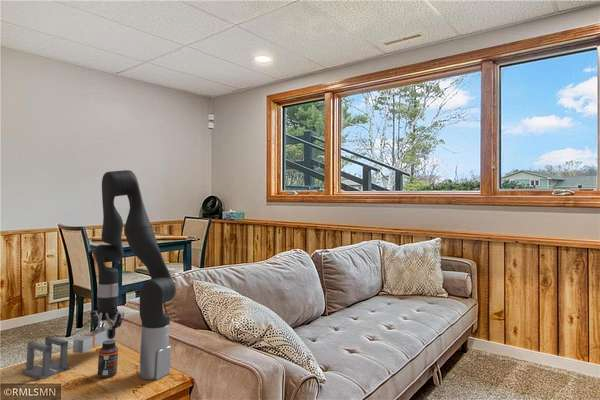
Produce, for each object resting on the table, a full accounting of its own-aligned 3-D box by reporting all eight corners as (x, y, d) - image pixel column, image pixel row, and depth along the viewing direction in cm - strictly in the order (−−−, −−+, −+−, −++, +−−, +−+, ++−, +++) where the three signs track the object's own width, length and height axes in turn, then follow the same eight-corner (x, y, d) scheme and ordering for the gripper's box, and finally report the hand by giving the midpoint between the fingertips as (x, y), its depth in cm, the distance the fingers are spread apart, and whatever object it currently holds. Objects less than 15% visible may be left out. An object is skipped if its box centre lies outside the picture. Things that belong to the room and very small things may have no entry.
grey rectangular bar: (114, 337, 152) (114, 325, 152) (83, 353, 135) (83, 340, 135) (105, 336, 153) (105, 325, 153) (72, 352, 136) (73, 339, 136)
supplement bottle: (108, 379, 127) (110, 345, 127) (93, 377, 128) (95, 343, 128) (120, 372, 132) (122, 339, 133) (105, 370, 134) (107, 337, 134)
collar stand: (51, 362, 138) (53, 335, 138) (69, 368, 134) (71, 340, 134) (22, 373, 128) (23, 343, 129) (40, 380, 124) (42, 349, 125)
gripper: (85, 295, 148) (83, 339, 148) (117, 297, 146) (116, 342, 145) (98, 291, 156) (97, 333, 155) (129, 293, 153) (128, 336, 153)
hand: (106, 337), depth 150 cm, fingers closed on grey rectangular bar, 4 cm apart
